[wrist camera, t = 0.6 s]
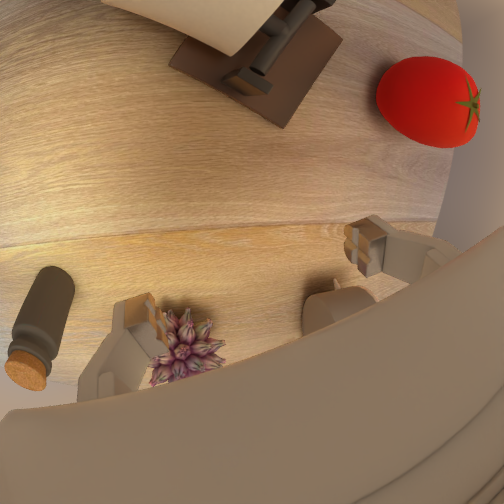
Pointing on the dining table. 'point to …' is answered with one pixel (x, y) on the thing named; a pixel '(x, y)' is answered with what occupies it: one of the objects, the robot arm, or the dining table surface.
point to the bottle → (39, 328)
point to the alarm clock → (334, 306)
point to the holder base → (279, 76)
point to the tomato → (430, 101)
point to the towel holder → (226, 23)
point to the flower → (186, 350)
